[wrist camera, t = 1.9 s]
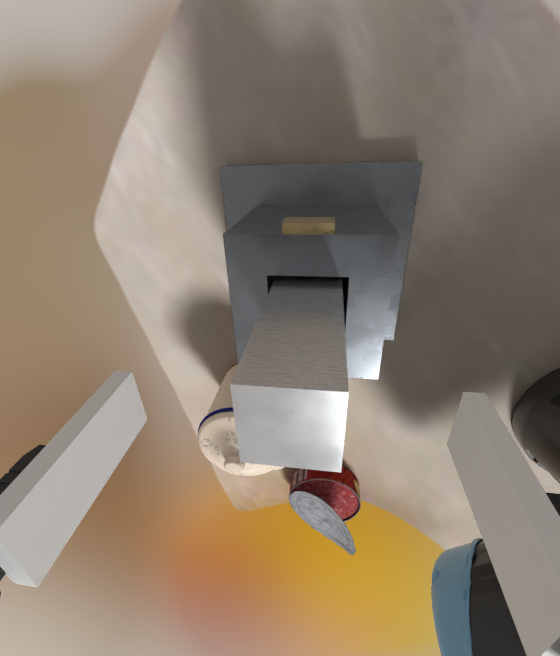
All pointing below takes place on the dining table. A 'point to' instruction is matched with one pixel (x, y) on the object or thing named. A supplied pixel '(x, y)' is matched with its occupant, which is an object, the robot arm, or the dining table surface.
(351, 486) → the canned food
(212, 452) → the teacup with lid
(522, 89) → the dining table surface
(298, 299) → the post
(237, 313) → the stand
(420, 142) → the dining table surface
